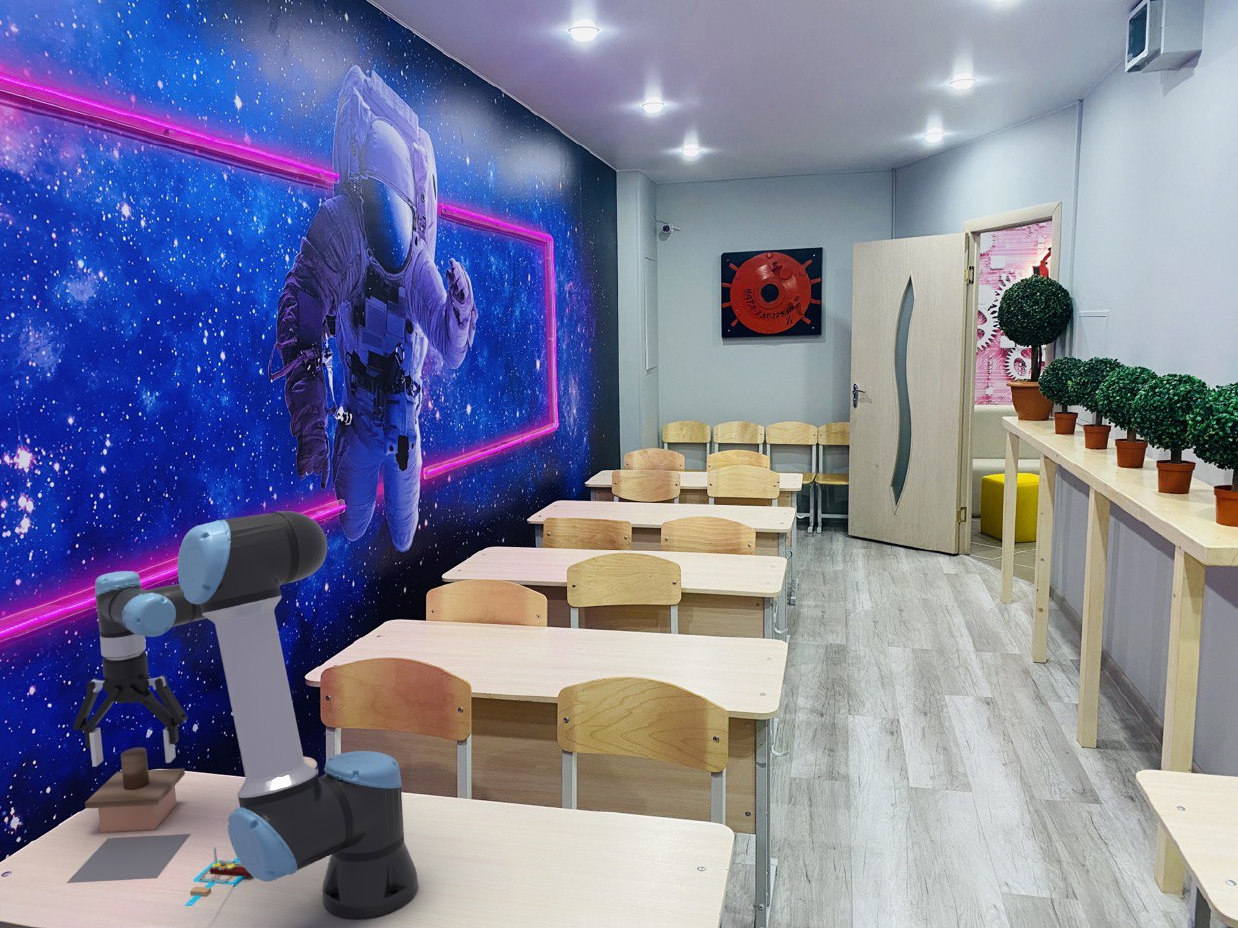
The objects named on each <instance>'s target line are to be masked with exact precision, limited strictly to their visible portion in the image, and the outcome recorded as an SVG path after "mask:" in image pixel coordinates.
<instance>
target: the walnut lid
mask: <svg viewBox="0 0 1238 928" xmlns="http://www.w3.org/2000/svg"><path fill="white" fill-rule="evenodd" d="M147 754H148V753H147V749H146V748H145V747H133V748H129V749H126V750H124V751H122V752H121V753H120V761H121V771H117V772H116V773H115V774H114V775H112V776H111V777H110V778H109V779H108V780H107V781H106V782H105V783H104V784H103V785H102V786H100V788H99V789H97V791H96V792H94V793H93V794H92V795H91V796H90V797H89V798H88V799H86V801H84V806H85V809H98V808H106V807H126V806H146V805H158V804H159V803H160V802H161V800H162V799H163V798H164V797H165V796H166V795H167V794H168V793H169V792H170V790H171V789H172V788H173V787H174V786H175V787H176V785H177V784H178V783H179V782H180V781H181V780H182V778H184V776H185V774H186V771H185V768H169V769H168V768H167V769H166V768H165V769H150V770H149V766H148V764H149V763H148V755H147Z"/></svg>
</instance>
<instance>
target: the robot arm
mask: <svg viewBox="0 0 1238 928" xmlns="http://www.w3.org/2000/svg"><path fill="white" fill-rule="evenodd" d="M327 553H328V541H327V536H326V534H325V532H324V530H323V528H322V526H320V524H319V523H318V522H316V520H315V519H313V518H312V517H310V516H308V515H306V514H304V513H300V512H297V511H291V510H290V511H289V510H280V511H279V510H278V511H273V512H269V513H263V514H256V515H249V516H248V515H247V516H242V517H241V516H240V517H233V518H227V519H220V520H219V519H217V520H216V521H212V522H211V521H210V522H209V523H208V522H207V523H204V524H200V525H197V526H194V527H192V528H191V529H190V530H189V531H188V532H187V533H186V534H185V536H184V538H183V539H182V542H181V546H180V547H179V552H178V555H177V556H178V558H177V576H178V577H177V578H178V583H177V584H171V585H166V586H161V587H157V588H156V587H155V588H152V589H142V588H141V587H142V583H141V580H140V576H139V573H137V572H136V571H131V570H129V571H128V570H124V571H123V570H122V571H121V570H120V571H113V572H109V573H104V574H101V575H100V576H98V577H97V578H96V580H95V583H94V585H95V586H94V588H95V593H94V594H95V595H94V598H95V602H96V603H95V604H96V612H97V613H96V614H97V621H98V622H97V623H98V629H99V640H100V653H101V654H100V655H101V656H102V657H103V658H102V660H101V663H102V674H103V678H104V679H103V680H100V679H99V678H98V677H95V678H93V679H92V680H91V681H88V682H87V684H86V693H85V694H86V695H85V697H84V700H83V702H82V703H81V706H80V708H79V711H78V714H77V716H76V718H75V719H74V720H75V721H74V722H73V725H72V729H73V730H74V731H82V732H83V734H84V740H85V741H84V742H85V747H86V748H87V749H90V755H91V762H92V763H91V764H92V768H93V767H98V766H99V765H100V764H102V762H103V761H104V754H103V745H102V744H103V743H102V733H101V727H97V726H98V723H100V721H101V720H102V719H103V717H104V716H105V715H106V714H107V712H108V711H109V710H110V709H111V707H112V706H113V705H114V703H117V704H118V705H119V704H126V703H128V704H136V703H137V702H138V703H139V704H140V705H141V706H144V707H145V708H146V709H147V710H148V711H150V712H151V714H152V715H153V716H155V718H157V719H158V721H160V722H161V723H162V724H163V725H164V726H165V728H164V729H162V733H163V735H162V736H163V747H164V756H165V757H164V758H165V763H166V764H168V763H169V764H170V763H171V762H172V761H173V760H174V759H175V758H176V748H175V744H177V742H178V741H179V738H180V737H179V728H178V727H179V726H182V725H183V724H184V723H185V722H186V721H187V720H188V719H189V717H188V715H187V713H186V711H185V710H184V709H183V707H182V705H181V704H180V702H179V701H178V699H177V698H176V696H175V695H174V693H173V691H172V689H171V688H170V687H169V685H168V683H169V682H168V679H167V676H166V675H164V674H161V675H160V676H159V677H153V678H150V676H149V666H148V665H149V664H148V654H147V652H146V651H145V650H146V648H147V646H146V645H147V644H146V637H148V638H149V637H150V638H154V637H159V636H162V635H164V634H165V633H167V632H168V631H169V630H170V629H171V628H173V627H178V626H181V625H186V624H188V623H192V622H197V621H201V620H205V619H208V620H209V621H211V622H212V623H213V624H214V625H215V626H214V627H215V630H216V636H217V640H218V645H219V649H220V656H221V662H222V666H223V671H224V675H225V680H226V685H227V691H228V697H229V702H230V706H231V710H232V716H233V721H234V727H235V732H236V736H237V741H238V746H239V751H240V757H241V762H242V766H243V767H242V768H243V772H244V777H245V778H244V779H245V780H244V782H243V784H242V785H241V787H240V788H239V790H238V791H237V799H238V804H239V807H237V808H235V809H234V810H233V811H232V812H231V813H230V814H229V816H228V820H227V821H228V824H227V832H228V837H229V840H230V843H231V846H232V849H233V851H234V853H235V856H236V858H237V857H238V859H239V862H241V864H242V865H243V866H244V867H245V869H246V870H247V871H248V872H249V873H250V874H251V876H252V877H253V878H255V879H257V880H259V881H261V882H272V881H277V880H278V879H280V878H284V877H286V876H288V875H289V876H290V875H291V876H292V875H293V874H295V873H297V871H299V870H301V869H302V870H303V868H305V867H308V866H310V865H313V864H314V863H316V862H319V861H320V860H323V859H325V858H327V857H329V861H328V865H327V868H326V871H325V875H324V879H323V884H322V890H321V891H322V903H323V906H324V908H325V909H326V911H328V912H329V913H330V914H332V915H334V916H336V917H340V918H345V919H350V920H351V919H353V920H356V919H357V920H359V919H361V920H363V919H369V918H375V917H379V916H384V915H386V914H389V913H392V912H394V911H396V910H398V909H400V908H402V907H403V906H405V905H406V904H408V903H409V902H410V901H411V899H413V897H414V896H415V895H416V893H417V891H418V887H419V884H418V883H419V882H418V873H417V868H416V866H415V864H414V862H413V859H412V857H411V854H410V852H409V849H408V847H407V845H406V842H405V835H404V834H405V832H404V831H405V830H404V813H403V797H402V796H403V795H402V786H403V782H402V778H401V772H400V771H401V770H400V765H399V763H398V762H397V760H396V759H395V758H394V757H392V756H390V755H388V754H385V753H383V752H378V751H368V750H358V751H357V750H356V751H348V752H343V753H339V754H335V755H333V756H331V757H330V758H329V759H328V760H327V761H326V762H325V765H324V768H323V771H324V774H323V775H322V776H319V774H318V775H317V770H316V769H314V768H312V767H311V766H309V765H307V764H306V763H305V762H304V758H303V757H304V755H303V754H304V753H303V748H302V744H301V739H300V735H299V730H298V725H297V720H296V718H297V717H296V713H295V709H294V705H293V700H292V694H291V689H290V684H289V680H288V675H287V669H286V665H285V659H284V654H283V649H282V644H281V640H280V639H281V638H280V634H279V630H278V624H277V620H276V615H275V609H276V607H277V605H278V603H280V601H281V599H282V597H283V595H282V593H281V588H280V586H283V585H287V584H290V583H294V582H298V581H301V580H303V579H305V578H308V577H310V576H312V575H313V574H314V573H316V572H317V571H318V570H319V569H320V568H321V567H322V565H323V563H324V562H325V559H326V557H327ZM151 686H152V689H153V690H155V691H156V693H157V695H158V696H159V698H160V700H161V701H159V700H158V698H156V697H155V694H154V693H153V692H152V691H151V690H150V689H149V688H150V687H151ZM102 689H103V690H104V691H105V693H106V694H108V695H107V696H106V698H105V699H104V701H103V702H102V703H101V705H100V706H99V708H98V709H97V710H96V712H95V713H94V714H93V715H92V717H91V718H89V716H90V714H91V711H92V709H93V706H94V704H95V703H96V702H95V701H96V700H97V697H98V695H99V692H100V691H102ZM161 702H162V703H161ZM88 719H89V721H88Z"/></svg>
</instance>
